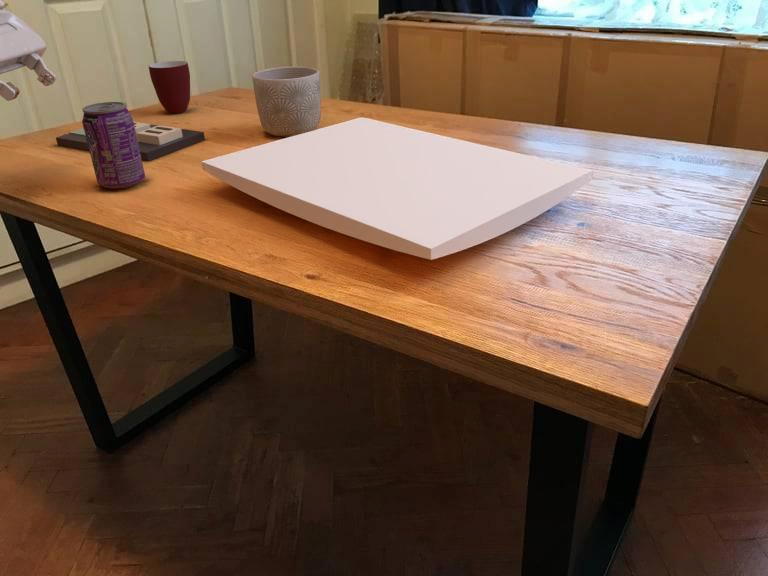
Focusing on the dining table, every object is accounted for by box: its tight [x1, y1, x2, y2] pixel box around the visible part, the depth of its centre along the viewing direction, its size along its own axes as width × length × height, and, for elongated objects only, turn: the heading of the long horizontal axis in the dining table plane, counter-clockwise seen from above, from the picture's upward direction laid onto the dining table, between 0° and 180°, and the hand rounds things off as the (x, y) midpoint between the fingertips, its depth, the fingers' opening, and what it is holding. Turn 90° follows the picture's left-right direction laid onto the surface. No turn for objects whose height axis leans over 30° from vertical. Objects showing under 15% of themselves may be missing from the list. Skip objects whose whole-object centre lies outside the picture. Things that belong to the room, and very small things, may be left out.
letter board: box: [55, 121, 206, 162], centre depth 123 cm, size 24×14×3 cm, turn 61°
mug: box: [148, 60, 191, 115], centre depth 142 cm, size 11×8×10 cm
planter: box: [251, 66, 322, 138], centre depth 124 cm, size 12×12×11 cm
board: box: [200, 116, 594, 261], centre depth 93 cm, size 45×32×5 cm
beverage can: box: [81, 101, 146, 190], centre depth 101 cm, size 7×7×12 cm
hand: (34, 89), depth 96 cm, fingers open, 8 cm apart
